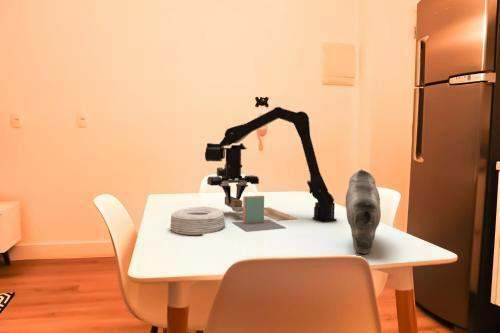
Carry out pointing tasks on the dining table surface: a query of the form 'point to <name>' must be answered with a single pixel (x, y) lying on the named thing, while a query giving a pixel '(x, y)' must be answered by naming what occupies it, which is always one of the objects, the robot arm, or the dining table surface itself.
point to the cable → (197, 220)
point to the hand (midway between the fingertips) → (233, 203)
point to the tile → (253, 209)
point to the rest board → (277, 214)
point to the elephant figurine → (363, 210)
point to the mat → (258, 226)
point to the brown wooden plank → (234, 204)
